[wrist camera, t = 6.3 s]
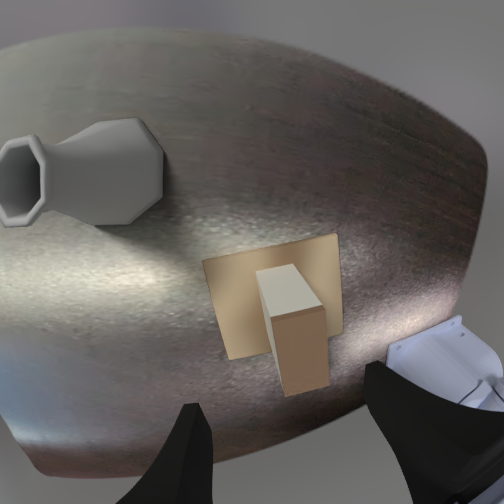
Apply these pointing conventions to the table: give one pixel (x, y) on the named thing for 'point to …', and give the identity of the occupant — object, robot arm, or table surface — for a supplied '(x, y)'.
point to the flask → (82, 175)
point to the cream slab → (295, 329)
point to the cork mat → (248, 296)
